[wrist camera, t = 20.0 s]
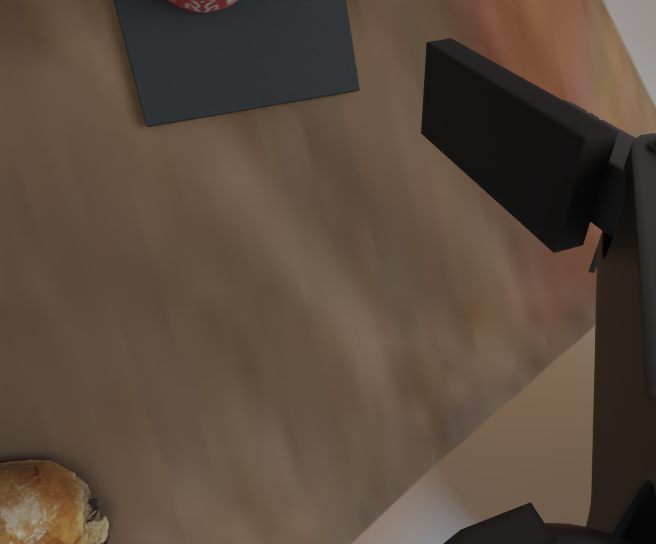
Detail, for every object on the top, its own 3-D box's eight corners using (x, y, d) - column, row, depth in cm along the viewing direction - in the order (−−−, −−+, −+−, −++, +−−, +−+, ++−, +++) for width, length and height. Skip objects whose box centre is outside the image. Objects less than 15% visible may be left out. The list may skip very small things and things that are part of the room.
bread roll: (28, 416, 39) (-66, 453, 31) (146, 491, 38) (79, 550, 30) (-32, 531, 39) (-140, 596, 31) (82, 608, 38) (-1, 696, 30)
